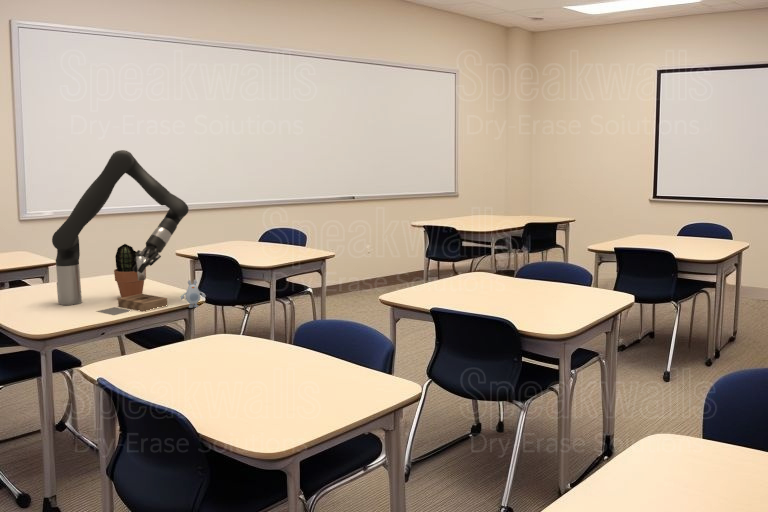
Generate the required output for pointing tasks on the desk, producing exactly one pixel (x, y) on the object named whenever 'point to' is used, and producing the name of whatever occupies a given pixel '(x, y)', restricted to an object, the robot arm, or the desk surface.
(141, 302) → the hole block
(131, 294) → the potted plant
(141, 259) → the metal peg
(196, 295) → the toy figure
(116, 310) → the rubber mat
